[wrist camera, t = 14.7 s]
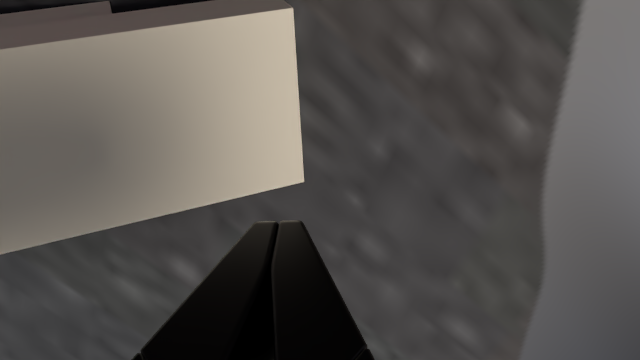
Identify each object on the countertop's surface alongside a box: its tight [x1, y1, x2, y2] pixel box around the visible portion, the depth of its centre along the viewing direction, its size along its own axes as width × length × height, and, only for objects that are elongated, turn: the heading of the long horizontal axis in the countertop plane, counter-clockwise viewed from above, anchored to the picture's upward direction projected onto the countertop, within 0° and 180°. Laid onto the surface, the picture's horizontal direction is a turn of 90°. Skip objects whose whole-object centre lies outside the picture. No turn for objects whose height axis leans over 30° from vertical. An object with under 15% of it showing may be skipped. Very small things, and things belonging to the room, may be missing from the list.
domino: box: [0, 0, 304, 254], centre depth 13 cm, size 2×5×9 cm
